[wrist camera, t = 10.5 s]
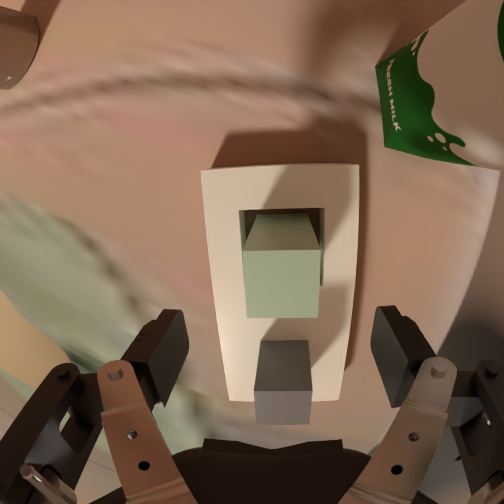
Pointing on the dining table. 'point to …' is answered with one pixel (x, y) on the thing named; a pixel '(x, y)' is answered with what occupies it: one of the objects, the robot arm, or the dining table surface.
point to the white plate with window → (283, 329)
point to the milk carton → (449, 89)
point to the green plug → (282, 267)
